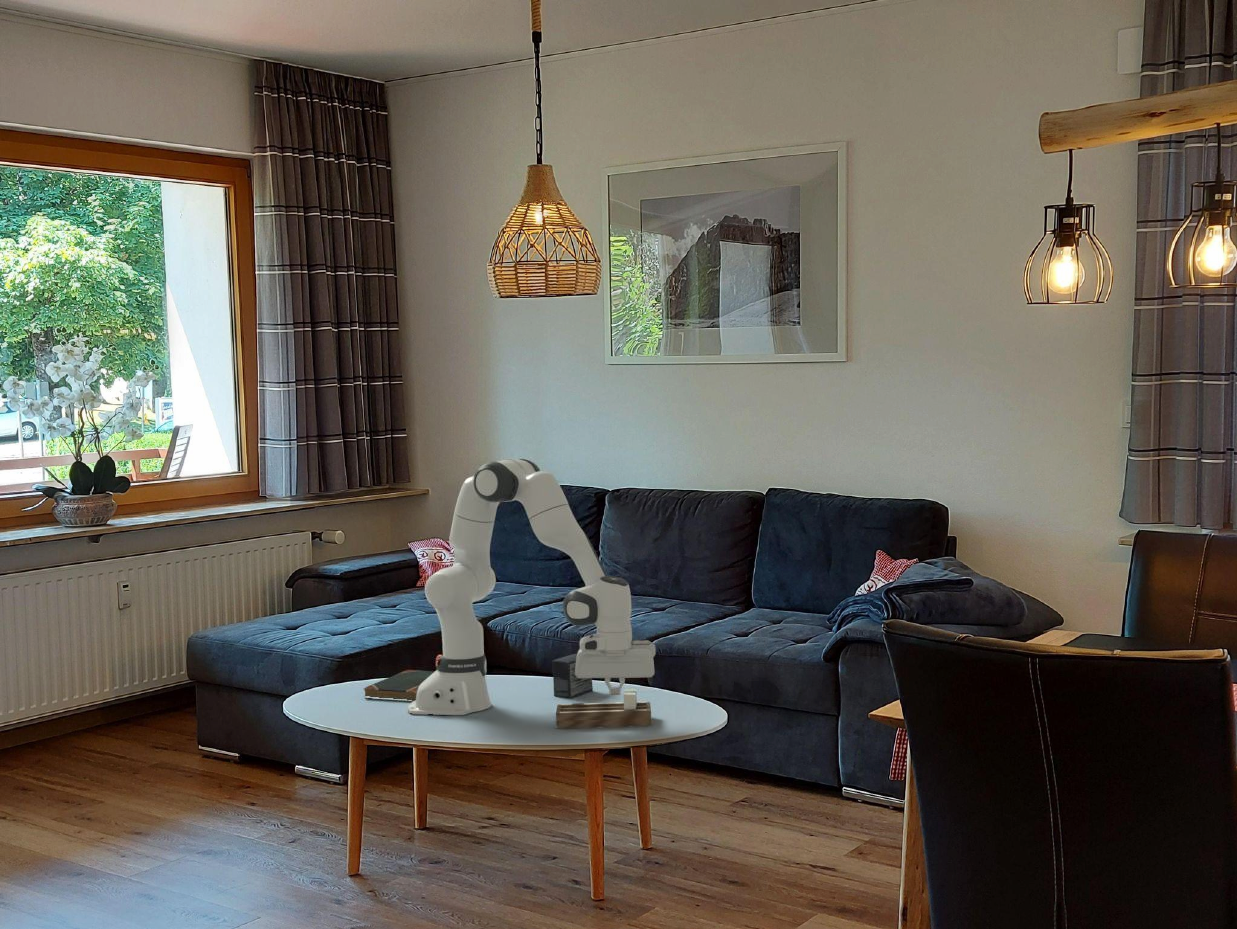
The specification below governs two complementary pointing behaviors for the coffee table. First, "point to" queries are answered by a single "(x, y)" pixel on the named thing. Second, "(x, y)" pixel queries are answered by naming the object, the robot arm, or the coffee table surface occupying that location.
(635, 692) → the sage tab
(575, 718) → the wooden shelf rack
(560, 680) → the small box
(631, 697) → the offwhite block
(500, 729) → the coffee table surface
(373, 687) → the book
